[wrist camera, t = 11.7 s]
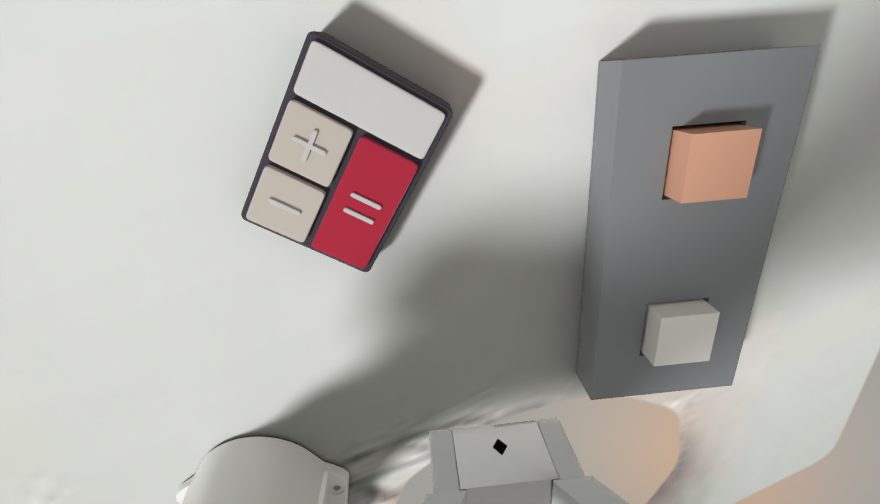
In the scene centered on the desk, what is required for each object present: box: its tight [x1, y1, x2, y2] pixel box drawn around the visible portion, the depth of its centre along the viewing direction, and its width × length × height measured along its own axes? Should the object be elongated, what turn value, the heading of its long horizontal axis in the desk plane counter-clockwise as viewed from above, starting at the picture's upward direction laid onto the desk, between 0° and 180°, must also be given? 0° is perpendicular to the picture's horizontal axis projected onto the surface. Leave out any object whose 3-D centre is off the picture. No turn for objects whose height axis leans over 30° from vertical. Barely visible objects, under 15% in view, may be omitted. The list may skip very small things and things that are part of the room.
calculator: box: [241, 31, 453, 272], centre depth 33 cm, size 11×4×15 cm
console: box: [576, 45, 820, 400], centre depth 37 cm, size 30×14×4 cm, turn 4°
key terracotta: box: [663, 122, 762, 204], centre depth 32 cm, size 5×5×4 cm
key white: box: [640, 298, 720, 366], centre depth 38 cm, size 5×5×4 cm
